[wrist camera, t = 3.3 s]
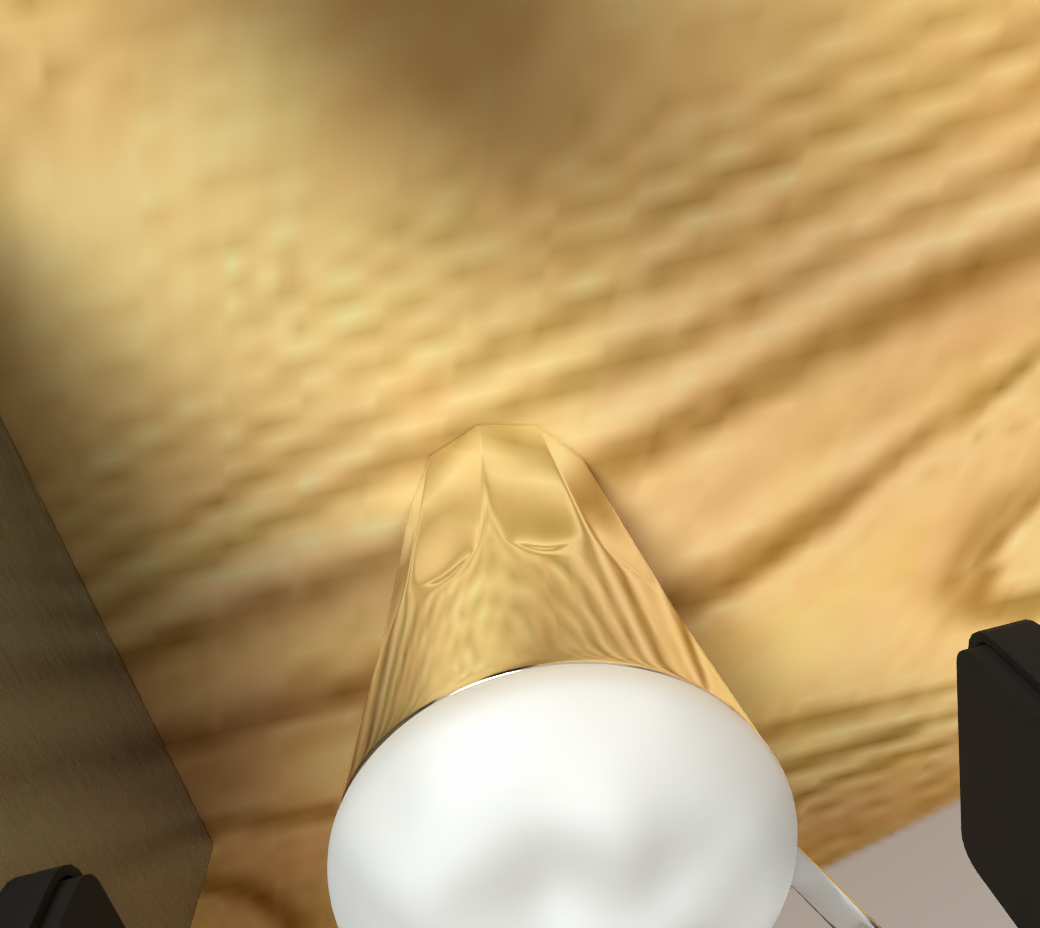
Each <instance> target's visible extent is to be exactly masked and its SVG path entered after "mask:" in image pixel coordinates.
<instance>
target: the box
mask: <svg viewBox="0 0 1040 928" xmlns="http://www.w3.org/2000/svg"><path fill="white" fill-rule="evenodd" d="M213 846H214V845H213V843H212V841H211V839H210V837H209V835H208V833H207V831H206V829H205V827H204V825H203V823H202V821H201V819H200V817H199V815H198V813H197V811H196V809H195V807H194V805H193V803H192V801H191V799H190V797H189V795H188V793H187V791H186V789H185V787H184V785H183V783H182V781H181V779H180V777H179V775H178V773H177V771H176V769H175V767H174V765H173V763H172V761H171V759H170V757H169V755H168V753H167V751H166V749H165V747H164V745H163V743H162V741H161V739H160V737H159V735H158V733H157V731H156V729H155V727H154V725H153V723H152V721H151V719H150V717H149V715H148V713H147V711H146V709H145V707H144V705H143V703H142V701H141V699H140V697H139V695H138V693H137V691H136V689H135V687H134V685H133V683H132V681H131V679H130V677H129V675H128V673H127V671H126V669H125V667H124V665H123V663H122V661H121V659H120V657H119V655H118V653H117V651H116V649H115V647H114V645H113V643H112V641H111V639H110V637H109V635H108V633H107V631H106V629H105V627H104V625H103V623H102V621H101V619H100V617H99V615H98V613H97V611H96V609H95V607H94V605H93V603H92V601H91V599H90V597H89V595H88V593H87V591H86V589H85V587H84V585H83V583H82V581H81V579H80V577H79V575H78V573H77V571H76V569H75V567H74V565H73V563H72V561H71V559H70V557H69V555H68V553H67V551H66V549H65V547H64V545H63V543H62V541H61V539H60V537H59V535H58V533H57V531H56V529H55V527H54V525H53V523H52V521H51V519H50V517H49V515H48V513H47V511H46V509H45V507H44V505H43V503H42V501H41V499H40V497H39V495H38V493H37V491H36V489H35V487H34V485H33V483H32V481H31V479H30V477H29V475H28V473H27V471H26V469H25V467H24V465H23V463H22V461H21V459H20V457H19V455H18V453H17V451H16V449H15V447H14V445H13V443H12V441H11V439H10V437H9V435H8V433H7V431H6V429H5V427H4V425H3V423H2V421H1V419H0V891H1V890H2V889H3V887H4V886H5V884H6V883H7V882H9V881H10V880H12V879H13V878H15V877H19V876H23V875H27V874H31V873H35V872H39V871H43V870H47V869H51V868H54V867H58V866H62V865H70V864H71V865H73V866H75V867H77V868H78V869H79V870H80V871H81V873H82V874H83V875H86V874H92V875H94V876H95V877H96V878H97V879H98V880H99V882H100V883H101V885H102V887H103V889H104V890H105V892H106V894H107V896H108V897H109V899H110V901H111V903H112V904H113V906H114V908H115V910H116V912H117V913H118V915H119V917H120V919H121V920H122V922H123V924H124V926H125V927H126V928H190V927H191V923H192V920H193V916H194V913H195V909H196V906H197V902H198V899H199V895H200V892H201V888H202V885H203V881H204V878H205V874H206V871H207V867H208V864H209V860H210V857H211V853H212V850H213Z"/></svg>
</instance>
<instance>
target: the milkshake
mask: <svg viewBox="0 0 1040 928" xmlns="http://www.w3.org/2000/svg"><path fill="white" fill-rule="evenodd" d="M797 842H798V828H797V816H796V808H795V803H794V798H793V795H792V791H791V788H790V785H789V783H788V780H787V778H786V775H785V773H784V771H783V769H782V767H781V765H780V763H779V761H778V760H777V758H776V756H775V755H774V753H773V752H772V750H771V749H770V748H769V746H768V745H767V744H766V742H765V741H764V740H763V739H762V737H761V735H760V734H759V732H758V731H757V729H756V728H755V726H754V725H753V724H752V722H751V721H750V719H749V718H748V716H747V715H746V713H745V712H744V710H743V709H742V707H741V706H740V704H739V703H738V701H737V700H736V699H735V697H734V696H733V694H732V693H731V691H730V690H729V688H728V687H727V685H726V684H725V682H724V681H723V679H722V678H721V677H720V675H719V674H718V672H717V671H716V669H715V668H714V666H713V665H712V663H711V662H710V660H709V659H708V657H707V656H706V655H705V653H704V652H703V650H702V649H701V647H700V646H699V644H698V643H697V641H696V640H695V638H694V637H693V635H692V634H691V632H690V631H689V629H688V628H687V627H686V625H685V624H684V622H683V621H682V619H681V618H680V616H679V615H678V613H677V612H676V610H675V608H674V607H673V605H672V604H671V602H670V601H669V599H668V597H667V596H666V594H665V593H664V591H663V589H662V587H661V586H660V584H659V582H658V581H657V579H656V577H655V576H654V574H653V573H652V571H651V569H650V568H649V566H648V564H647V563H646V561H645V559H644V558H643V556H642V555H641V553H640V551H639V550H638V548H637V546H636V545H635V543H634V541H633V540H632V538H631V537H630V535H629V533H628V532H627V530H626V528H625V527H624V525H623V524H622V522H621V520H620V519H619V517H618V515H617V514H616V512H615V511H614V509H613V507H612V506H611V504H610V503H609V501H608V499H607V498H606V496H605V494H604V493H603V491H602V490H601V488H600V486H599V485H598V483H597V481H596V480H595V478H594V477H593V475H592V473H591V472H590V470H589V469H588V467H587V465H586V464H585V462H584V461H583V459H582V458H581V457H579V456H578V455H576V454H575V453H574V452H572V451H571V450H570V449H568V448H567V447H565V446H564V445H563V444H561V443H560V442H559V441H557V440H556V439H555V438H553V437H552V436H550V435H549V434H548V433H546V432H545V431H544V430H542V429H541V428H540V427H538V426H536V425H477V426H476V427H474V428H472V429H471V430H469V431H468V432H466V433H465V434H463V435H462V436H460V437H459V438H457V439H456V440H454V441H453V442H451V443H449V444H448V445H446V446H445V447H443V448H442V449H440V450H439V451H437V452H435V453H434V454H432V455H431V456H430V457H429V460H428V463H427V465H426V468H425V471H424V474H423V476H422V479H421V482H420V485H419V487H418V490H417V493H416V495H415V498H414V500H413V503H412V506H411V509H410V513H409V517H408V522H407V527H406V532H405V536H404V541H403V546H402V551H401V555H400V560H399V565H398V570H397V574H396V579H395V584H394V589H393V593H392V598H391V603H390V608H389V612H388V617H387V622H386V627H385V631H384V636H383V641H382V645H381V650H380V655H379V659H378V662H377V665H376V668H375V671H374V674H373V678H372V681H371V685H370V689H369V692H368V696H367V700H366V703H365V707H364V711H363V715H362V718H361V722H360V726H359V730H358V733H357V737H356V741H355V745H354V748H353V752H352V756H351V760H350V764H349V767H348V771H347V775H346V779H345V782H344V786H343V790H342V794H341V798H340V801H339V805H338V809H337V813H336V817H335V820H334V823H333V827H332V831H331V835H330V841H329V848H328V861H327V876H328V887H329V895H330V900H331V905H332V909H333V913H334V916H335V920H336V923H337V926H338V928H773V926H774V924H775V922H776V920H777V918H778V916H779V914H780V912H781V910H782V907H783V905H784V903H785V900H786V898H787V895H788V892H789V889H790V886H791V885H792V886H793V887H794V889H795V890H796V891H797V892H798V893H799V894H800V895H801V896H802V897H803V898H804V899H805V900H806V901H807V902H808V903H809V904H810V905H811V906H812V907H813V908H814V909H815V910H816V911H817V912H818V913H819V914H820V915H821V916H822V917H823V918H824V919H825V920H826V921H827V922H828V923H829V924H830V925H831V926H832V927H833V928H881V927H880V926H879V925H878V924H877V923H876V922H875V921H874V920H873V919H872V918H871V917H870V916H869V915H868V914H867V913H866V912H865V911H864V910H863V909H862V908H861V907H860V906H859V905H857V904H856V903H855V902H854V901H853V900H852V899H851V898H850V897H849V896H848V895H847V894H846V893H845V892H844V891H843V890H842V889H841V888H840V887H839V886H838V885H837V884H836V883H835V882H834V881H833V880H832V879H831V878H830V877H829V876H828V875H827V874H826V873H825V872H824V871H823V870H822V869H821V868H819V867H818V866H817V865H816V864H815V863H814V862H813V861H812V860H811V859H810V858H809V857H808V856H807V855H806V854H805V853H804V852H803V851H802V850H801V849H800V848H799V847H798V846H797Z"/></svg>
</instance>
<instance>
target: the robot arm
mask: <svg viewBox="0 0 1040 928" xmlns="http://www.w3.org/2000/svg"><path fill="white" fill-rule="evenodd" d="M957 695H958V730H959V764H960V799H961V831H962V840H963V843H964V847H965V849H966V852H967V855H968V857H969V858H970V861H971V863H972V865H973V866H974V868H975V869H976V871H977V873H978V874H979V875H980V877H981V878H982V879H983V881H984V882H985V883H986V885H987V886H988V887H989V889H990V890H991V892H992V893H993V894H994V896H995V897H996V898H997V900H998V901H999V903H1000V904H1001V905H1002V907H1003V908H1004V909H1005V911H1006V912H1007V913H1008V915H1009V916H1010V918H1011V919H1012V920H1013V921H1014V923H1015V924H1016V926H1017V927H1018V928H1040V625H1039V624H1037V623H1036V622H1034V621H1031V620H1026V619H1025V620H1021V621H1017V622H1014V623H1010V624H1006V625H1002V626H998V627H994V628H990V629H986V630H982V631H978V632H976V633H974V634H972V636H971V638H970V639H969V647H968V649H965V650H962V651H960V652H959V653H958V655H957ZM0 928H126V927H125V926H124V924H123V922H122V920H121V919H120V917H119V915H118V913H117V912H116V910H115V908H114V906H113V904H112V903H111V901H110V899H109V897H108V896H107V894H106V892H105V890H104V889H103V887H102V885H101V883H100V882H99V880H98V879H97V878H96V877H95V876H94V875H92V874H86V875H83V874H82V873H81V871H80V870H79V869H78V868H77V867H75V866H73V865H71V864H70V865H62V866H58V867H54V868H51V869H47V870H43V871H39V872H35V873H31V874H27V875H23V876H19V877H15V878H13V879H12V880H10V881H9V882H7V883H6V884H5V886H4V887H3V889H2V890H1V891H0Z"/></svg>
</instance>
